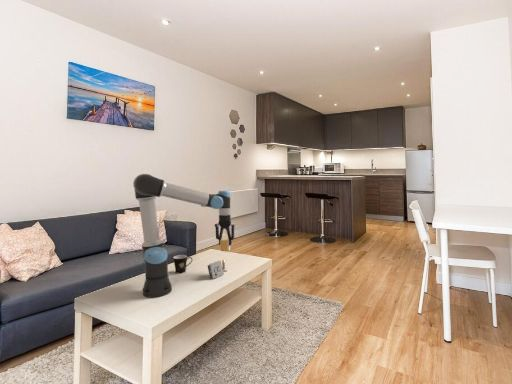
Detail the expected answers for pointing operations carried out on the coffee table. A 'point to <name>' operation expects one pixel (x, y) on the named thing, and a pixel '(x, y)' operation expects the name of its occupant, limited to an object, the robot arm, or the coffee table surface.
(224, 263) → the brass peg
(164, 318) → the coffee table surface
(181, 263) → the coffee mug
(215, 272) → the electrical switch
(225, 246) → the yellow upright square block
